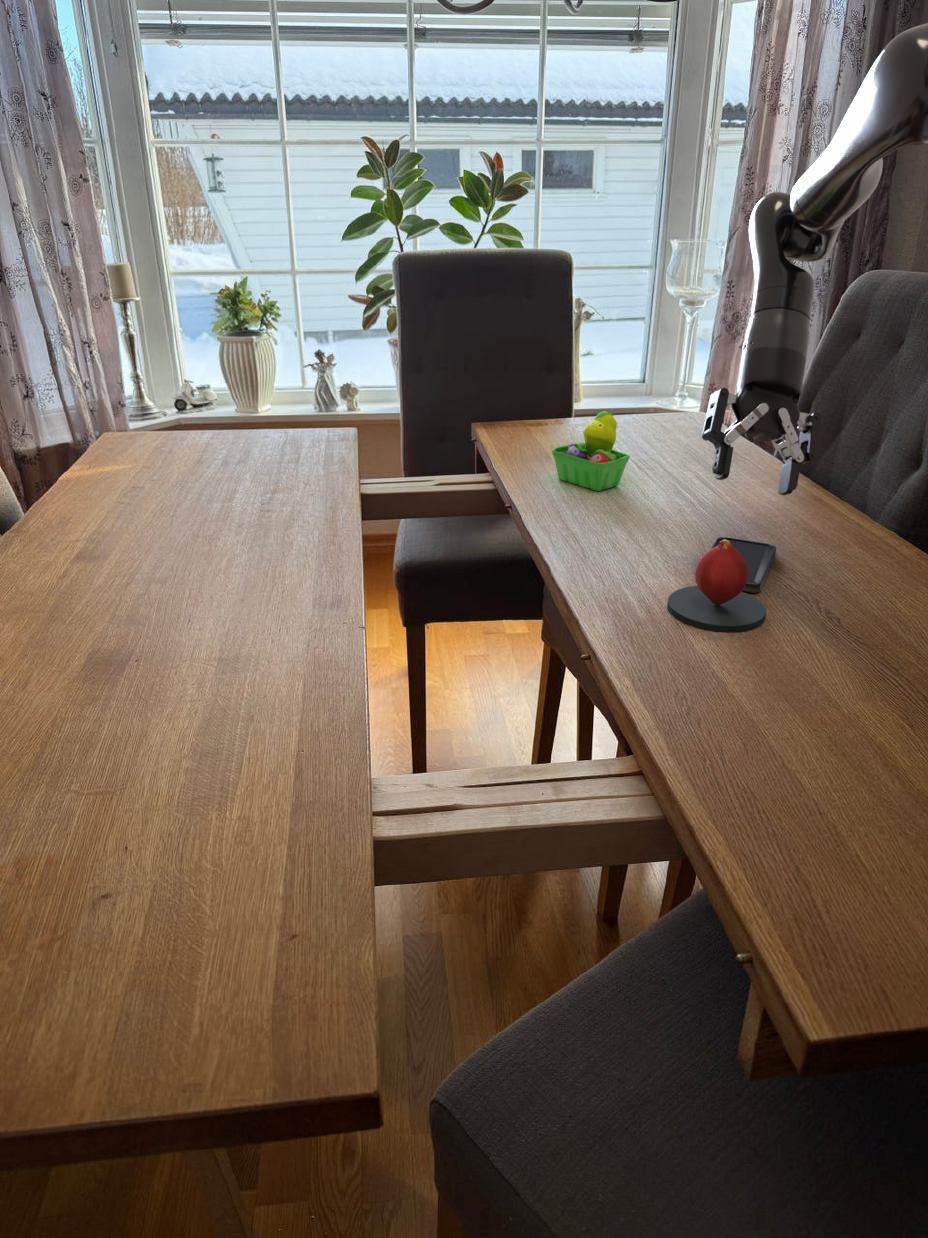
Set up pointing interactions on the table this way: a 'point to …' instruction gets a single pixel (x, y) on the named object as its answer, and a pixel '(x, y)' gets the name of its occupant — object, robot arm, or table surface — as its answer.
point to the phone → (753, 560)
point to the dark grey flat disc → (716, 611)
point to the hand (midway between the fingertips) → (753, 486)
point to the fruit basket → (593, 456)
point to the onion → (721, 573)
